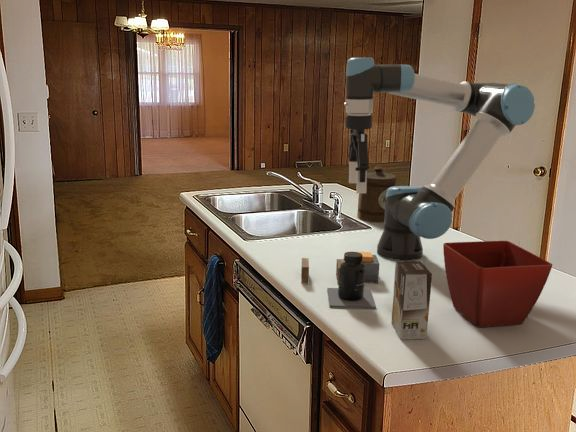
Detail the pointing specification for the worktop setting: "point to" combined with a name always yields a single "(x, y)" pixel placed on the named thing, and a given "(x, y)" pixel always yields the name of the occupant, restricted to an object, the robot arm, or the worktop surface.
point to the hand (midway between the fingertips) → (357, 188)
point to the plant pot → (494, 281)
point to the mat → (338, 302)
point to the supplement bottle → (351, 277)
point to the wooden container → (375, 195)
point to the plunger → (366, 256)
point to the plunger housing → (371, 270)
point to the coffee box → (411, 299)
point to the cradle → (306, 270)
